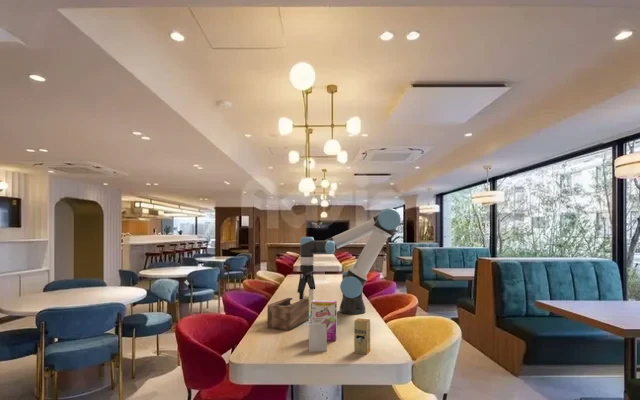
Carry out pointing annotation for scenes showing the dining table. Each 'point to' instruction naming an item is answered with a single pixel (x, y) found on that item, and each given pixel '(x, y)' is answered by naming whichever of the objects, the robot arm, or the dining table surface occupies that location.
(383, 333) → the dining table surface
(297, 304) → the walnut box
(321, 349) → the white rectangular block
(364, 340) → the shoe polish box
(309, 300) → the cover plate
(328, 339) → the candy bar box
